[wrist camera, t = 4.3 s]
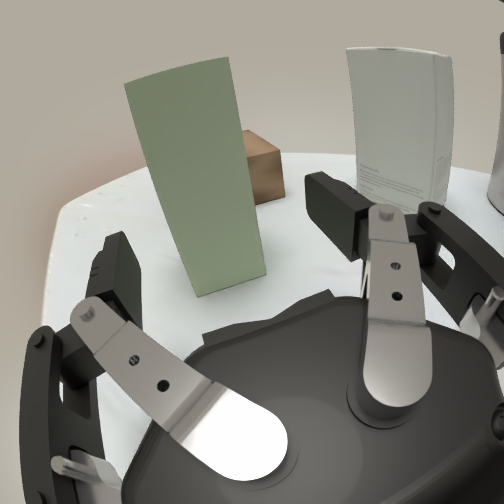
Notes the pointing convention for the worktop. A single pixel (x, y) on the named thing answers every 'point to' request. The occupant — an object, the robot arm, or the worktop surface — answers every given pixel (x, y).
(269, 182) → the walnut riser block
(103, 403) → the worktop surface
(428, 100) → the skincare box
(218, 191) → the sage block
